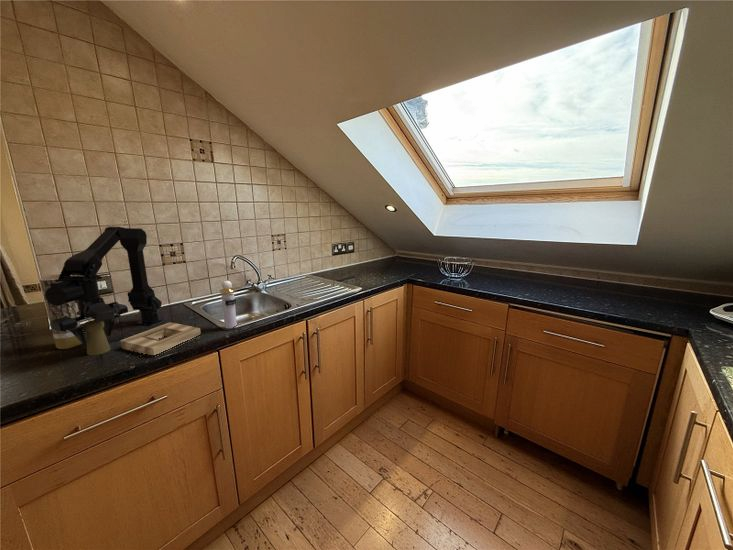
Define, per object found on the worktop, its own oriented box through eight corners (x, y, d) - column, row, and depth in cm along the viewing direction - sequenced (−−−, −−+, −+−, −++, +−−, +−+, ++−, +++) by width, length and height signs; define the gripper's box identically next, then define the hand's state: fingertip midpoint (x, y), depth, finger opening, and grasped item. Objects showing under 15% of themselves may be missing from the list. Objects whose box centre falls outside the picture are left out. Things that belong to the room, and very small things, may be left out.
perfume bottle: (220, 327, 121) (215, 280, 117) (234, 324, 125) (230, 278, 121) (227, 331, 117) (222, 283, 113) (241, 327, 122) (237, 280, 117)
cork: (115, 348, 102) (109, 318, 100) (95, 356, 97) (88, 325, 94) (102, 346, 104) (96, 316, 102) (82, 354, 98) (75, 323, 96)
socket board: (121, 348, 102) (120, 340, 102) (170, 329, 119) (169, 322, 118) (154, 356, 97) (152, 348, 97) (200, 335, 114) (200, 328, 113)
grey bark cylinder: (88, 341, 108) (74, 274, 102) (71, 350, 101) (55, 279, 95) (69, 341, 107) (54, 274, 102) (50, 350, 101) (33, 278, 95)
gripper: (66, 307, 85) (77, 357, 88) (135, 291, 102) (142, 333, 105) (43, 303, 88) (55, 350, 92) (113, 287, 106) (121, 328, 109)
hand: (96, 340), depth 100 cm, fingers open, 7 cm apart
